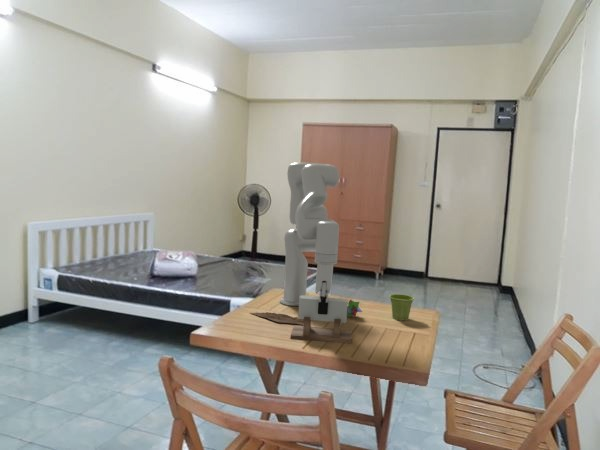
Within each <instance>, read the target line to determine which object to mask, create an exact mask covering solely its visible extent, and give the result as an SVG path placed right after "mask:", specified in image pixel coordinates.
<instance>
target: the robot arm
mask: <svg viewBox="0 0 600 450" xmlns="http://www.w3.org/2000/svg"><path fill="white" fill-rule="evenodd" d="M286 174H287V181H288V182H287V183H288V185H289V188H290V199H289V201H290V203H289V222H290V223H291V224H292V226H295V227H296V228H291V229H288V230H287V231H286V232H285V234H284V237H283V238H284V239H283V240H284V250H285V263H284V283H283V284H284V285H283V286H284V287H283V297H281V298H279V302H280V303H281V304H282V305H286V306H292V307H299V298H300V296H301V295H304V296H307V286H308V284H307V282H308V268H309V267H308V266H309V264H308V263H309V262H308V260H307V258H306V256H305V255H304V254H303V253H305V252H307V253H311V252H312V253H313V252H314V263H316V264H317V267H316V275H315V277H316V278H315V293H316V294H318V293H319V294H318V295H319V296H318V297H319V302H318V314H324V315H327V313H328V302H327V300H328V298H329V294H331V289H332V284H333V273H334V265H336V264H338V252H339V237H340V235H339V234H340V225H339V223H338V222H336V221H335V220H333V219H331V218H328V210H327V206H325V205H324V204H326V202H327V201H328V191H327V188H335V187H338V184H339V182H340V173H339V169H338V168H337V166H335V165H333V164H329V163H328V164H327V163H317V162H316V163H315V162H314V163H313V162H303V161H302V162H297V161H296V162H293V163H290V164H289V165H288V168H287V173H286Z"/></svg>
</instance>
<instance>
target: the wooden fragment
mask: <svg viewBox="0 0 600 450" xmlns="http://www.w3.org/2000/svg"><path fill="white" fill-rule="evenodd" d="M250 314H251V315H254V316H258V317H262V318H264V319H268V320H270V321H273V322H276V323H278V324H279V323H281V324H292V325H300V326H302V325H303V326H304V319H298V317H297V316H296V317H293V316H291V315H289V314H286V313H285V314H284V313H276V312H268V311H266V312H250Z"/></svg>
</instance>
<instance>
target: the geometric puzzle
mask: <svg viewBox="0 0 600 450" xmlns="http://www.w3.org/2000/svg"><path fill="white" fill-rule="evenodd" d="M359 305H360V301H354V300H352V299H349V300H348V305H347V317H349V318H350V319H351V318H353V319H354V320H355V319H356V318H357V316H359V315H360V314H361V313H363V310H362V309H361V308H360V307H359ZM358 313H359V314H358Z"/></svg>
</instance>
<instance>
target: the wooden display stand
mask: <svg viewBox="0 0 600 450" xmlns="http://www.w3.org/2000/svg"><path fill="white" fill-rule="evenodd" d="M289 338H290V339H291V340H292V339H294V340H307V341H309V340H310V341H318V342H330V343H344V344H346V343H348V344H352V343H353V336H352V330H351V329H342V328H341V319H335V320H334V322H333V328H332V327H331V328H330V327H316V326H312V320H310V317H304V325H303V326H302V325H293V326H292V329H291V333H290V337H289Z"/></svg>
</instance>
